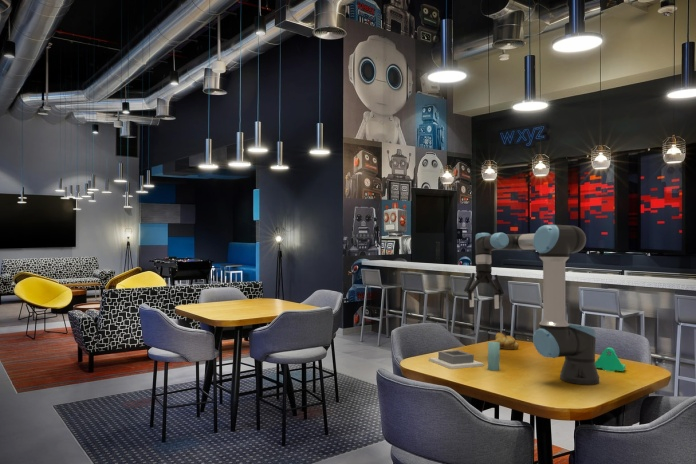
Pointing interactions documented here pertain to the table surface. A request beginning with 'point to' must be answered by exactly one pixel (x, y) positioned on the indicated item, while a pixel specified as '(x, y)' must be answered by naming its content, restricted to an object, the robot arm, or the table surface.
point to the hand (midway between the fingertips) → (484, 307)
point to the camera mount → (609, 361)
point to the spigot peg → (493, 356)
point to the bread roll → (506, 341)
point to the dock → (454, 366)
